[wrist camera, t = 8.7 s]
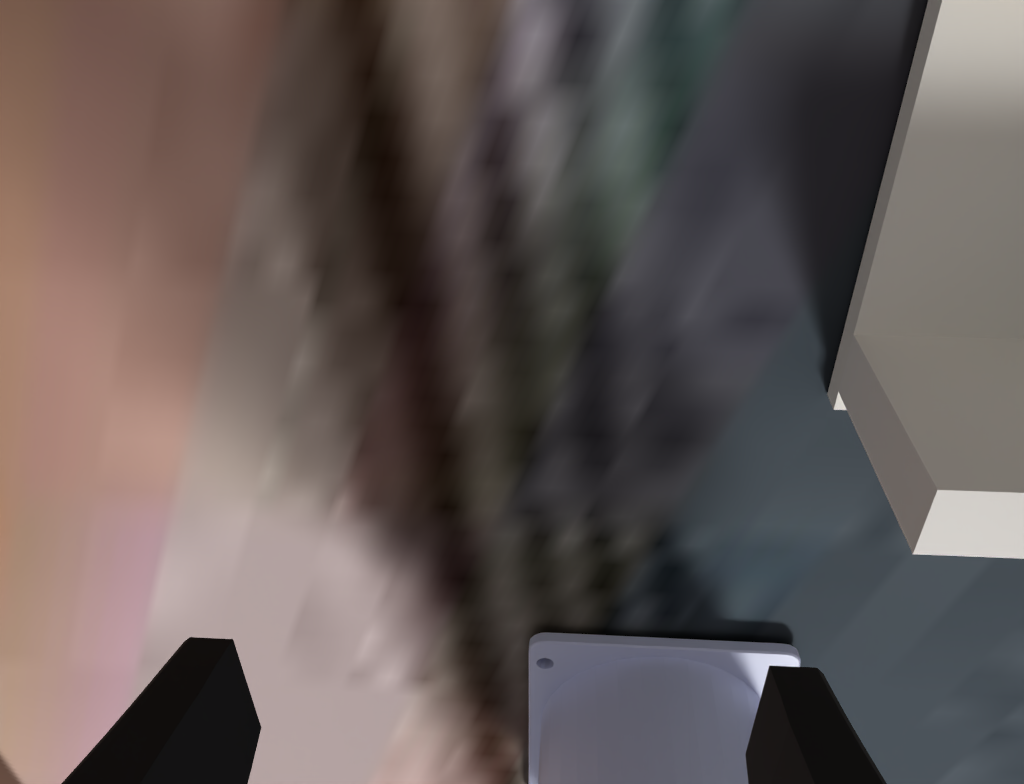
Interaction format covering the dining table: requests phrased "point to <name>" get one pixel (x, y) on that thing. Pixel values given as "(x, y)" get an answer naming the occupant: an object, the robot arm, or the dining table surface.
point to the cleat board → (947, 292)
